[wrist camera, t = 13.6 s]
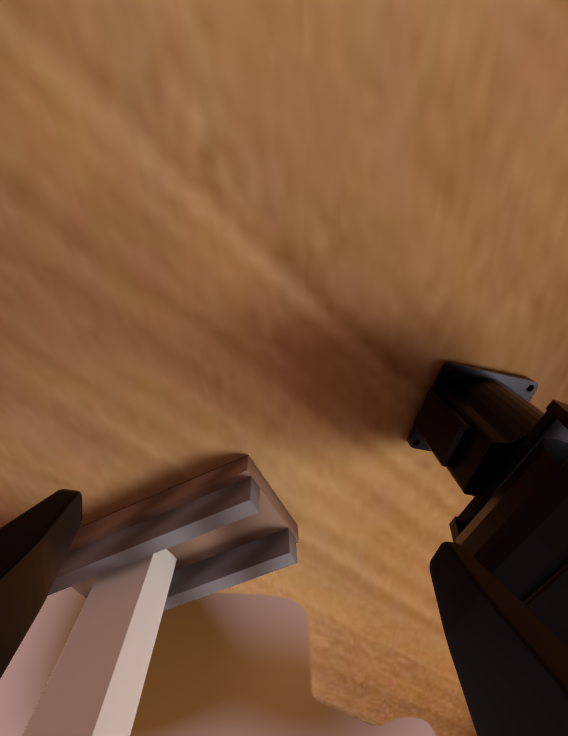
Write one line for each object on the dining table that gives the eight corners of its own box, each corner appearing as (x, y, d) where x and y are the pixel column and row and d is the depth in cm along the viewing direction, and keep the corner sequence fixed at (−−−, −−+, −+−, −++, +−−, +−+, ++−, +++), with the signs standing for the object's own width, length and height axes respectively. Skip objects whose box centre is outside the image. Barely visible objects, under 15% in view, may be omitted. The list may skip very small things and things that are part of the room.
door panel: (157, 540, 25) (56, 839, 13) (176, 559, 26) (98, 853, 14) (103, 562, 26) (-38, 863, 14) (123, 580, 26) (7, 875, 15)
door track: (248, 455, 24) (245, 493, 20) (297, 525, 27) (301, 567, 24) (48, 540, 26) (17, 585, 23) (113, 594, 30) (95, 640, 26)
